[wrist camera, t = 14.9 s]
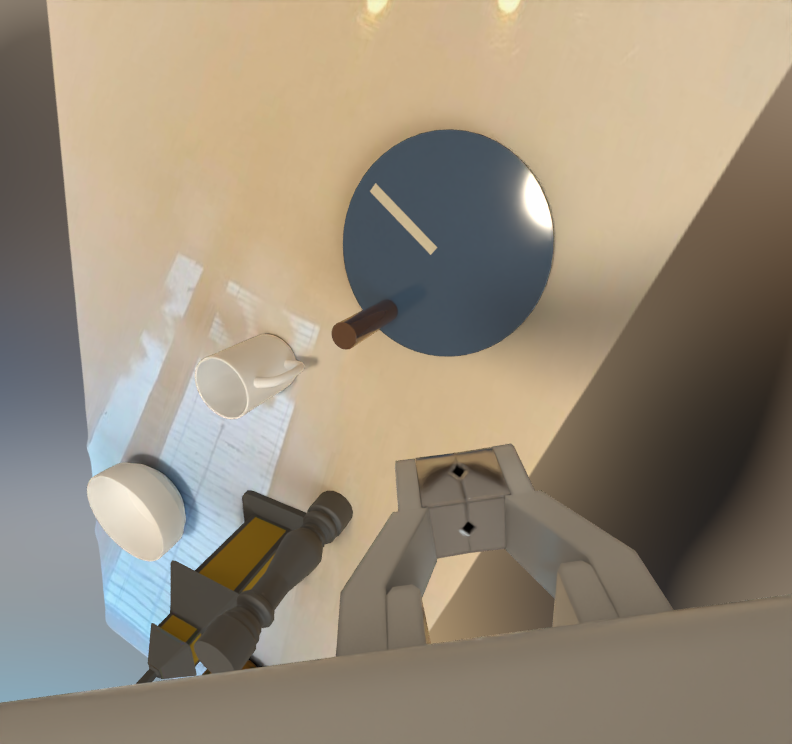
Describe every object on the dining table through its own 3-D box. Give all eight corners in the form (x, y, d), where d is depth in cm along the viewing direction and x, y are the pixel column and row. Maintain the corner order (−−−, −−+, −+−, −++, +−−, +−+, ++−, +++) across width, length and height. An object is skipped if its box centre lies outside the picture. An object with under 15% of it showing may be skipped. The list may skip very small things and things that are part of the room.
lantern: (245, 488, 71) (59, 649, 45) (313, 516, 66) (149, 712, 41) (250, 544, 77) (88, 715, 51) (312, 573, 72) (170, 776, 47)
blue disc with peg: (608, 250, 36) (620, 268, 26) (442, 389, 47) (409, 436, 38) (437, 72, 36) (388, 27, 26) (313, 255, 47) (249, 269, 38)
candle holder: (347, 529, 64) (234, 691, 43) (315, 509, 66) (190, 657, 44) (357, 504, 61) (240, 665, 40) (323, 484, 63) (193, 629, 41)
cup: (244, 334, 57) (185, 358, 49) (312, 328, 52) (260, 353, 44) (260, 387, 60) (207, 418, 51) (327, 386, 55) (281, 421, 46)
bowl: (149, 434, 76) (105, 458, 69) (216, 512, 77) (179, 544, 70) (116, 473, 87) (75, 497, 79) (176, 541, 88) (140, 572, 80)
